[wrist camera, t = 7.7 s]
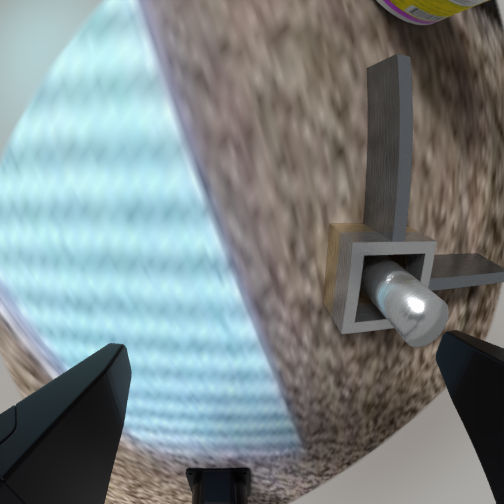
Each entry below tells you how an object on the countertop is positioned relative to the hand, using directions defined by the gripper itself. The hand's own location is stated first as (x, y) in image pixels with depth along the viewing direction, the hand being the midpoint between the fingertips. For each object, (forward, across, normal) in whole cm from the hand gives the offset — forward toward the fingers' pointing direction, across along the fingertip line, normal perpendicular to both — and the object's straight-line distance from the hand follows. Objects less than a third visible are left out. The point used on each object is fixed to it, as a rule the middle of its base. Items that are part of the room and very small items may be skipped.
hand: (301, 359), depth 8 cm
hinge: (+12, -11, -3) cm, 17 cm away
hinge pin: (+12, -7, +2) cm, 14 cm away
